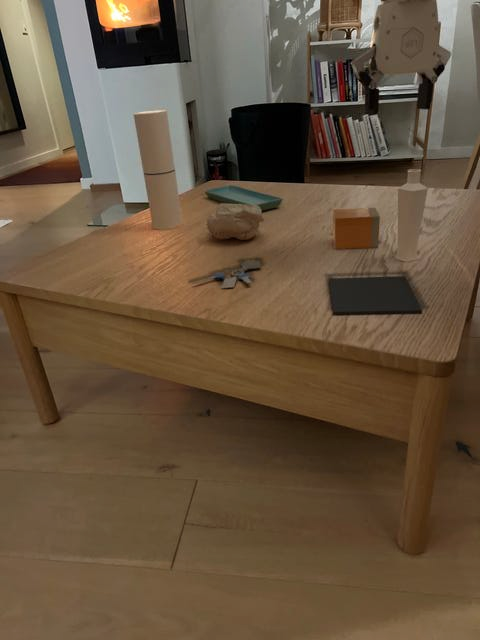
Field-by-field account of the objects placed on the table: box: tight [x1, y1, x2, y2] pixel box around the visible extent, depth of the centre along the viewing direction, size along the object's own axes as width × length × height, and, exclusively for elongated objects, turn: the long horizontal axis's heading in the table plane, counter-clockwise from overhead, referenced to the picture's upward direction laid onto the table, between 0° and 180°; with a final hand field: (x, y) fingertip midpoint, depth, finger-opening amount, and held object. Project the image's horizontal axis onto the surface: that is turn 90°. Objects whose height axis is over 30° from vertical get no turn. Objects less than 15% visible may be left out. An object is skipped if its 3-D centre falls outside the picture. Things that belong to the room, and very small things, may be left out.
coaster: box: [328, 275, 423, 316], centre depth 71 cm, size 12×12×1 cm
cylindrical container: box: [133, 109, 183, 231], centre depth 108 cm, size 7×7×25 cm
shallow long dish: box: [203, 184, 284, 212], centre depth 127 cm, size 26×9×2 cm, turn 31°
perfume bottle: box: [394, 168, 429, 263], centre depth 80 cm, size 5×4×15 cm
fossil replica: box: [206, 203, 265, 241], centre depth 99 cm, size 12×8×10 cm
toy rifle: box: [192, 260, 262, 289], centre depth 81 cm, size 14×8×1 cm, turn 133°
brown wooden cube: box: [332, 207, 381, 250], centre depth 91 cm, size 8×6×6 cm
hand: (397, 111), depth 82 cm, fingers open, 9 cm apart
